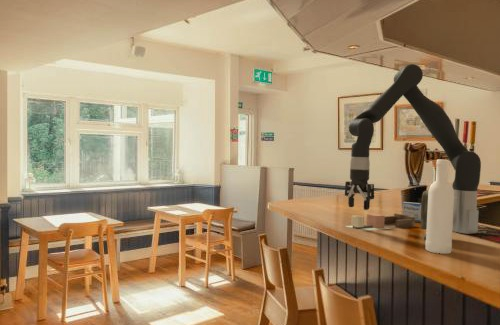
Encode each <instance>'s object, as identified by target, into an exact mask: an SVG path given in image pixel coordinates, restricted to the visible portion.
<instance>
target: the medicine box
mask: <svg viewBox="0 0 500 325" xmlns="http://www.w3.org/2000/svg"><path fill="white" fill-rule="evenodd" d="M401 210H402V212H401V213H402V215H407V216H412V217H415V223H416V222H418V223H421V202H420V203H419V202H409V201H408V202H407V201H403V202H402V209H401Z"/></svg>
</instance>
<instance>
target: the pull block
mask: <svg viewBox="0 0 500 325" xmlns="http://www.w3.org/2000/svg"><path fill="white" fill-rule="evenodd" d="M385 216H386V215H383V214H378V213H367V214H366V224H367V225H365V224H364V223H365V217H364V216H360V215H351V216H350V218H351V219H350V220H351V222H350V226H353V228H352V229H354V228H355V229H354V230H357V229H361V228H384V220H385Z"/></svg>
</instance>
